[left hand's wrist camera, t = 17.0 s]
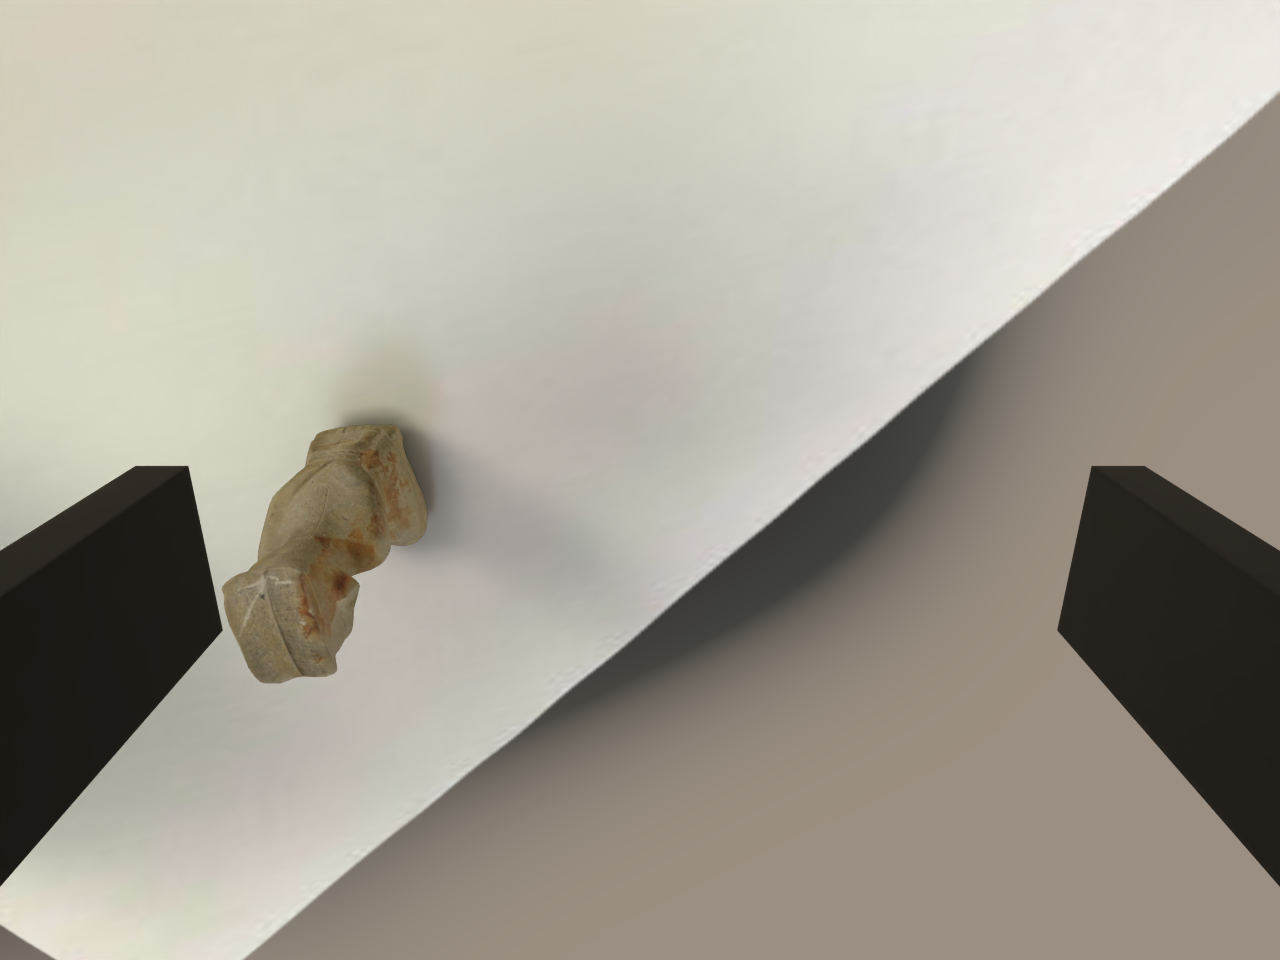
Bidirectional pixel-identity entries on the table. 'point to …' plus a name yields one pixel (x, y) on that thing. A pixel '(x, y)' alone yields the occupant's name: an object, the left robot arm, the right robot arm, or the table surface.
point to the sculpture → (323, 550)
